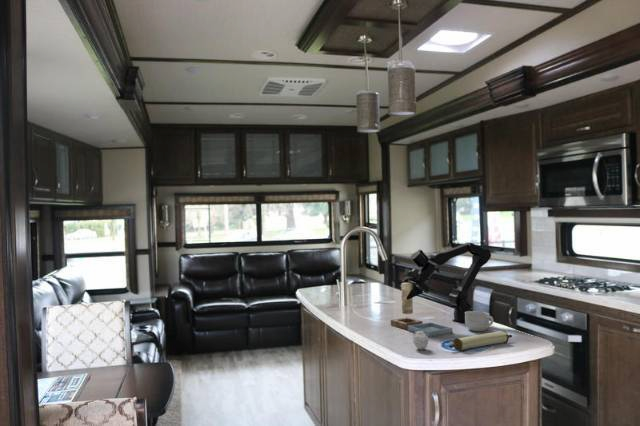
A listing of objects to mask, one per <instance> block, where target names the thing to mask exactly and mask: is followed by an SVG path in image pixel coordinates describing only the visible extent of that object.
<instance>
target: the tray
mask: <svg viewBox="0 0 640 426" xmlns="http://www.w3.org/2000/svg"><path fill="white" fill-rule="evenodd" d="M418 331H423V332H424V333H425V334H426V336H427V338H433V337H438V336H443V335H447V334H448V335H449V334H452V333H453V327H450V326H448V325H447V326H446V325H443V324H439V323H436V322H432V321H431V322H430V321H429V322H424V323H422V324H417V325H411V326H408V329H407V332H411V333H413V334H415V333H416V332H418Z"/></svg>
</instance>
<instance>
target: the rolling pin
mask: <svg viewBox="0 0 640 426" xmlns="http://www.w3.org/2000/svg"><path fill="white" fill-rule="evenodd" d="M509 338H510V339H511V338H513V335H512V334H508V332H506V330H500V331H496V332H494V331H493V332H488V333H482V334H481V333H480V334H475V335H471V336H465V337H459V338H458V337H456V338H454V339H453V343H452V344H449V345H448V348H449V349H453V348H454V349H455V350H456V351H457V350H458V352H461V351H464V350H468V349H473V348H478V347H484V346H490V345H497V344H503V343H504V344H507V343H508V342H509Z"/></svg>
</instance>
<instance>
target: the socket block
mask: <svg viewBox="0 0 640 426" xmlns="http://www.w3.org/2000/svg"><path fill="white" fill-rule="evenodd" d="M422 323H423V320H419V319H417V318H416V319H415V318H412V317H408V316H407V317H401V318H395V319H390V326H394V327H397V328H399V329H403V330H408V326H411V325H417V324H422Z"/></svg>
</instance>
